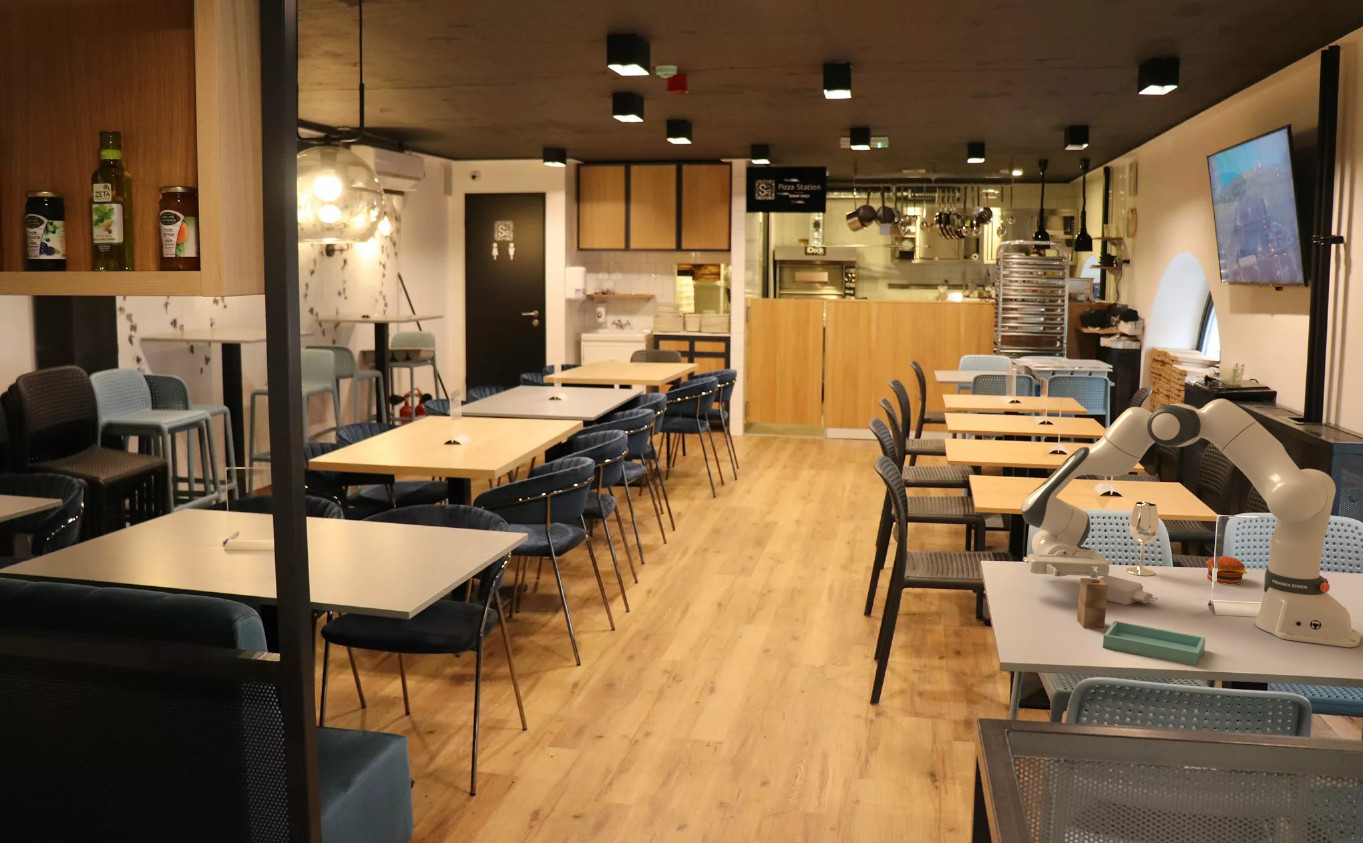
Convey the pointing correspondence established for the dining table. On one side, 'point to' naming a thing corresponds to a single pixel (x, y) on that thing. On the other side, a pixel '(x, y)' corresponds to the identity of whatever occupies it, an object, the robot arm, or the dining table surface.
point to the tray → (1154, 643)
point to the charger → (1125, 591)
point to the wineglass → (1143, 531)
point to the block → (1092, 603)
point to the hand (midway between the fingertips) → (1076, 574)
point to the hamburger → (1227, 570)
